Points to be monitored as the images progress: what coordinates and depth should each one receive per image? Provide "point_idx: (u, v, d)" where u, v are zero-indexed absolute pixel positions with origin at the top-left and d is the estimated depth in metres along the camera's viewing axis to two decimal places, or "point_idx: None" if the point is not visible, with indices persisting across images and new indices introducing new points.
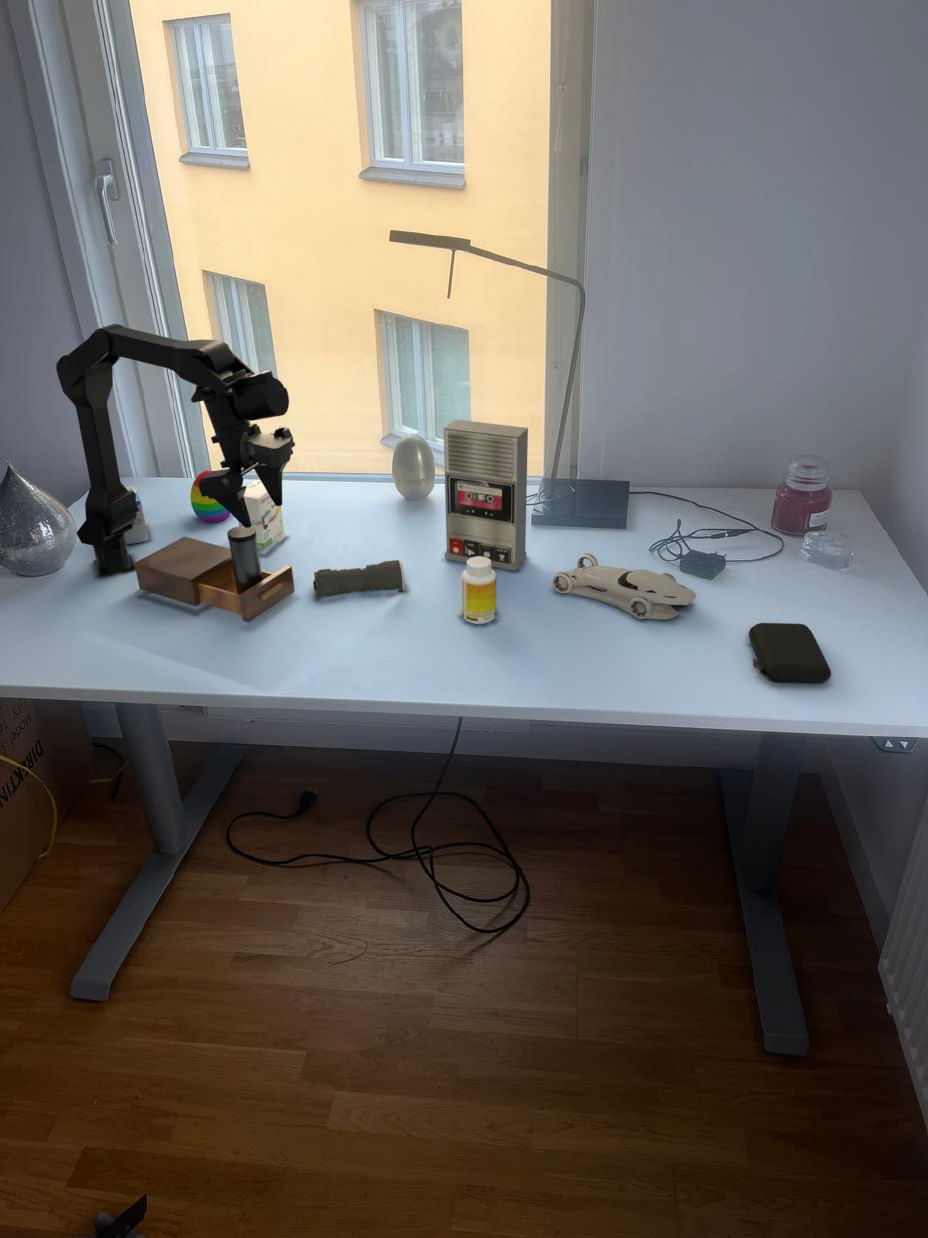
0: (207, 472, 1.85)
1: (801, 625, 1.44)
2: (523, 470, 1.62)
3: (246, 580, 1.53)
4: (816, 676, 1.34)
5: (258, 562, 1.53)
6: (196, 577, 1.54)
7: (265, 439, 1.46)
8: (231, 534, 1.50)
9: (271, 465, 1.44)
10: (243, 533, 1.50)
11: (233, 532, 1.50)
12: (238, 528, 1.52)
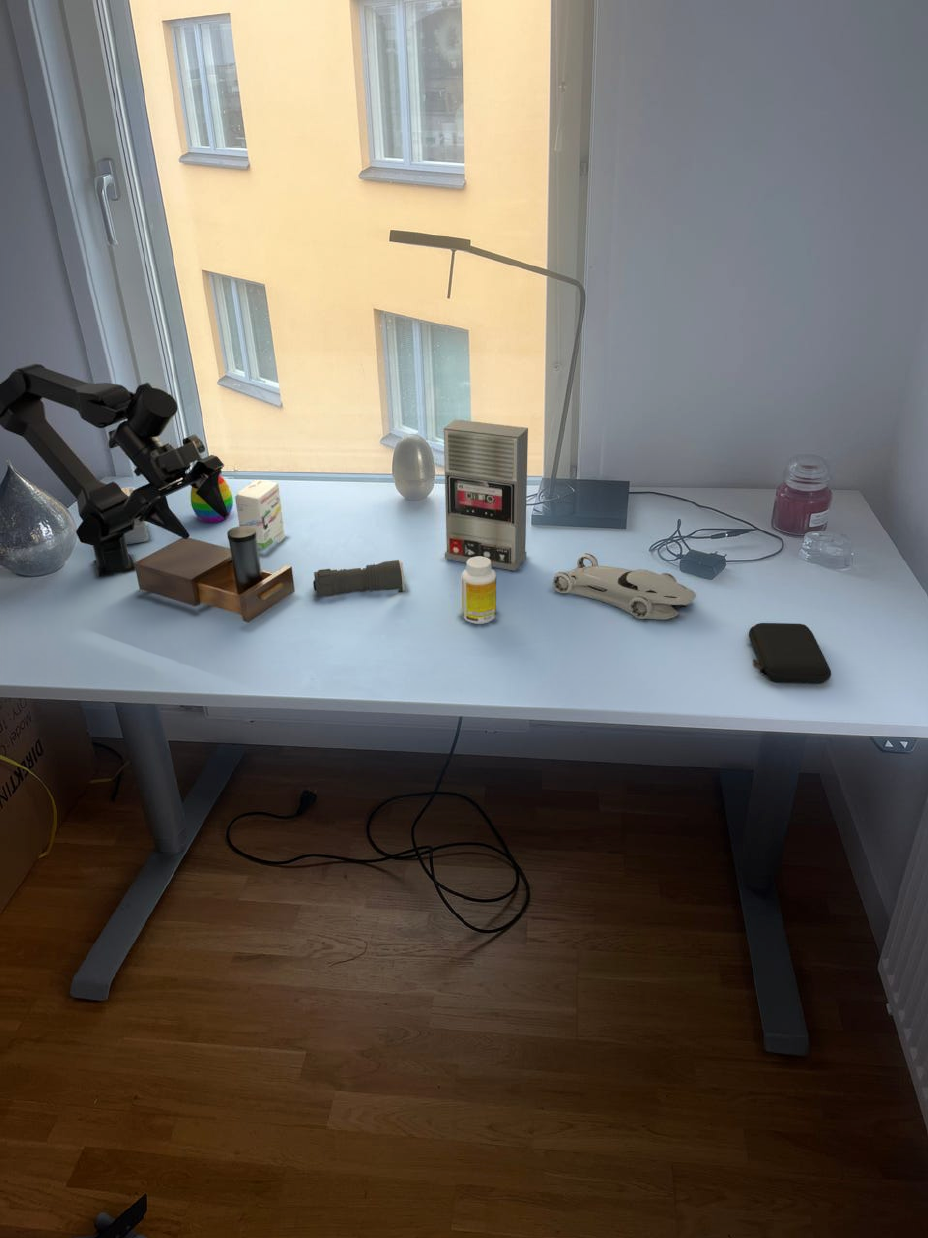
0: None
1: (801, 625, 1.44)
2: (523, 470, 1.62)
3: (246, 580, 1.53)
4: (816, 676, 1.34)
5: (258, 562, 1.53)
6: (196, 577, 1.54)
7: None
8: (231, 534, 1.50)
9: (179, 467, 1.48)
10: (243, 533, 1.50)
11: (233, 532, 1.50)
12: (238, 528, 1.52)
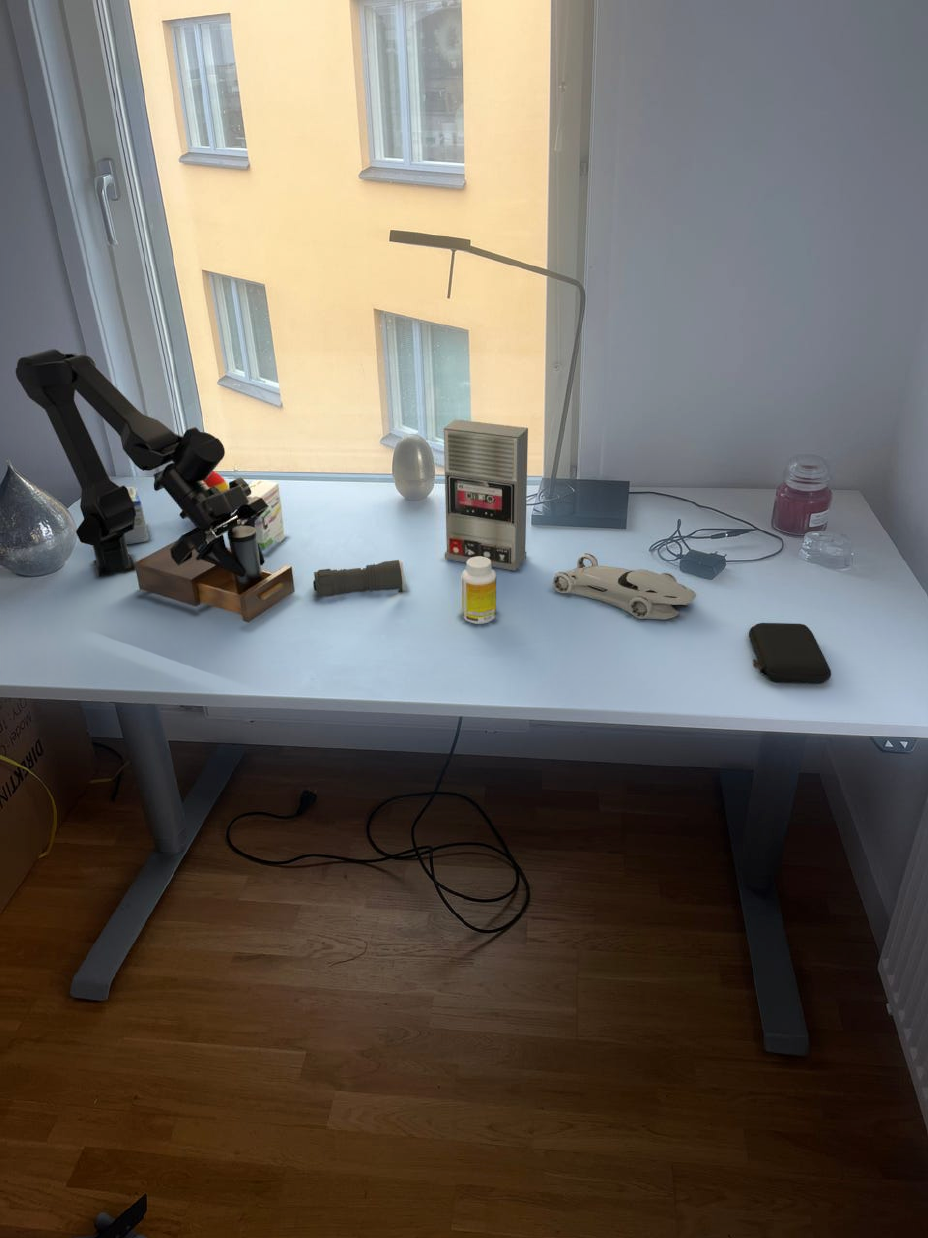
0: None
1: (801, 625, 1.44)
2: (523, 470, 1.62)
3: (246, 580, 1.53)
4: (816, 676, 1.34)
5: (258, 562, 1.53)
6: (196, 577, 1.54)
7: (219, 493, 1.50)
8: (231, 534, 1.50)
9: (227, 511, 1.47)
10: (243, 533, 1.50)
11: (233, 532, 1.51)
12: (238, 528, 1.52)
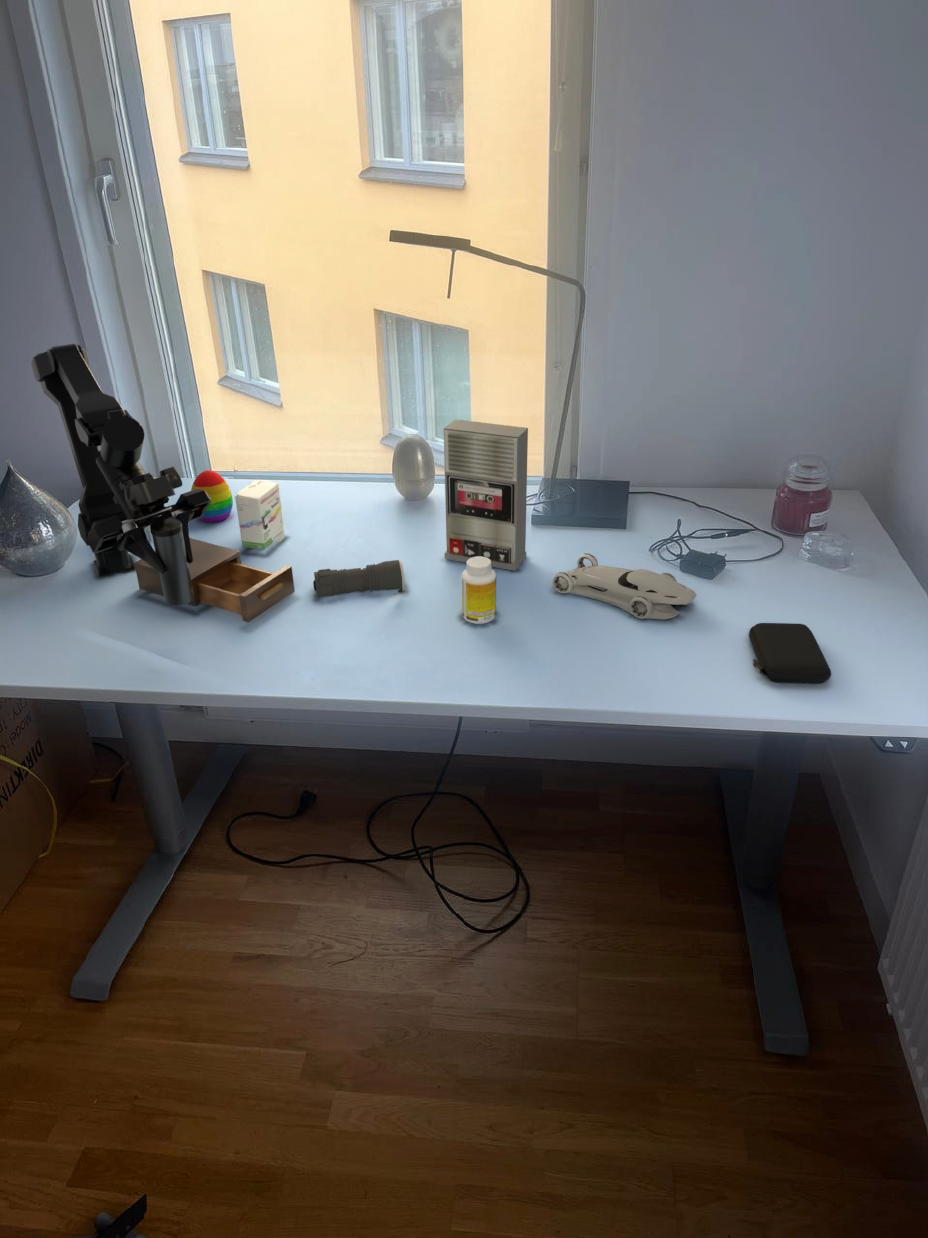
0: (207, 472, 1.85)
1: (801, 625, 1.44)
2: (523, 470, 1.62)
3: (167, 577, 1.41)
4: (816, 676, 1.34)
5: (182, 560, 1.41)
6: (196, 577, 1.54)
7: None
8: (153, 526, 1.39)
9: (145, 502, 1.36)
10: (165, 527, 1.39)
11: (156, 525, 1.39)
12: (165, 520, 1.41)
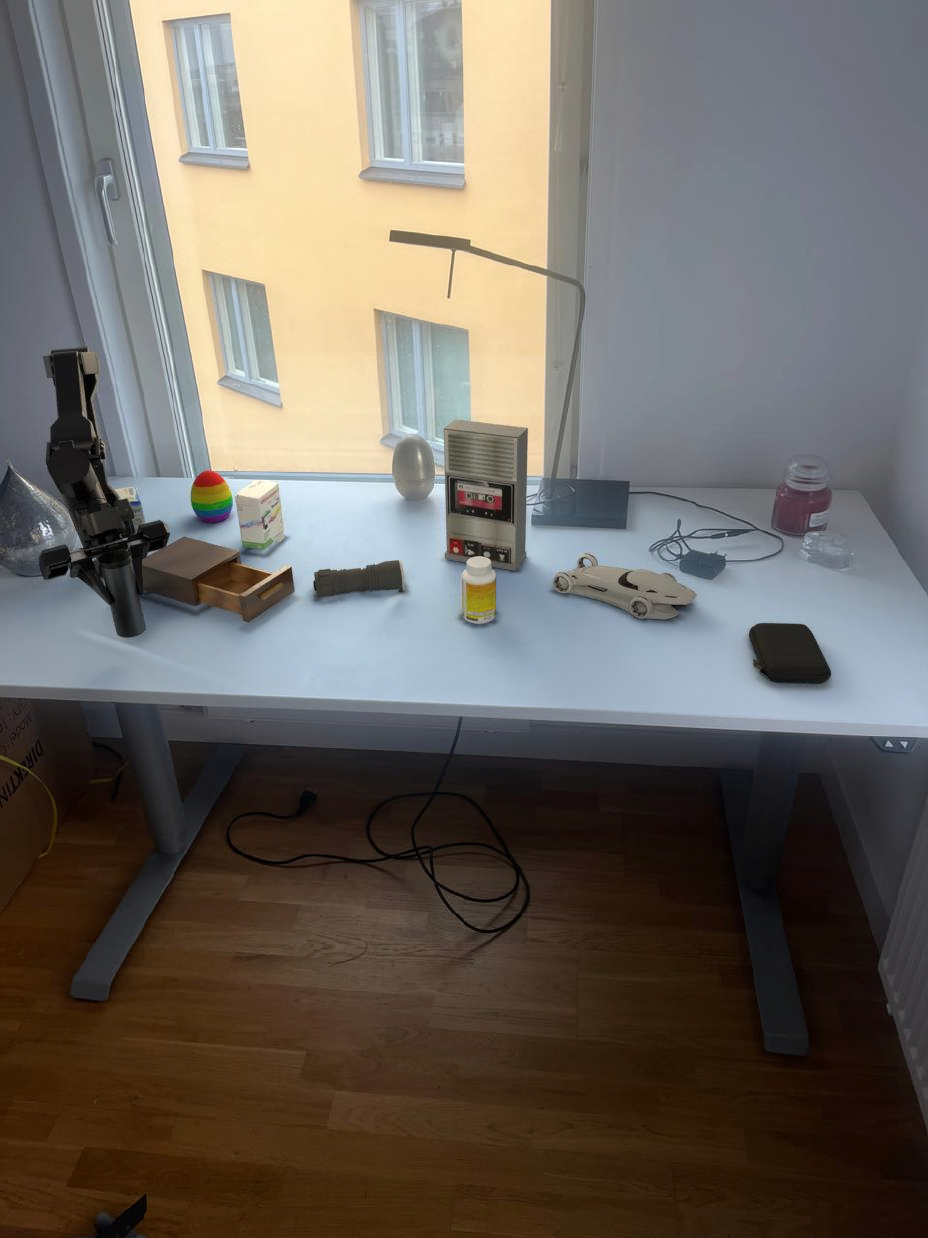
0: (207, 472, 1.85)
1: (801, 625, 1.44)
2: (523, 470, 1.62)
3: (115, 609, 1.40)
4: (816, 676, 1.34)
5: (130, 593, 1.39)
6: (196, 577, 1.54)
7: None
8: (102, 558, 1.37)
9: (91, 534, 1.34)
10: (113, 559, 1.37)
11: (106, 556, 1.38)
12: (116, 552, 1.39)
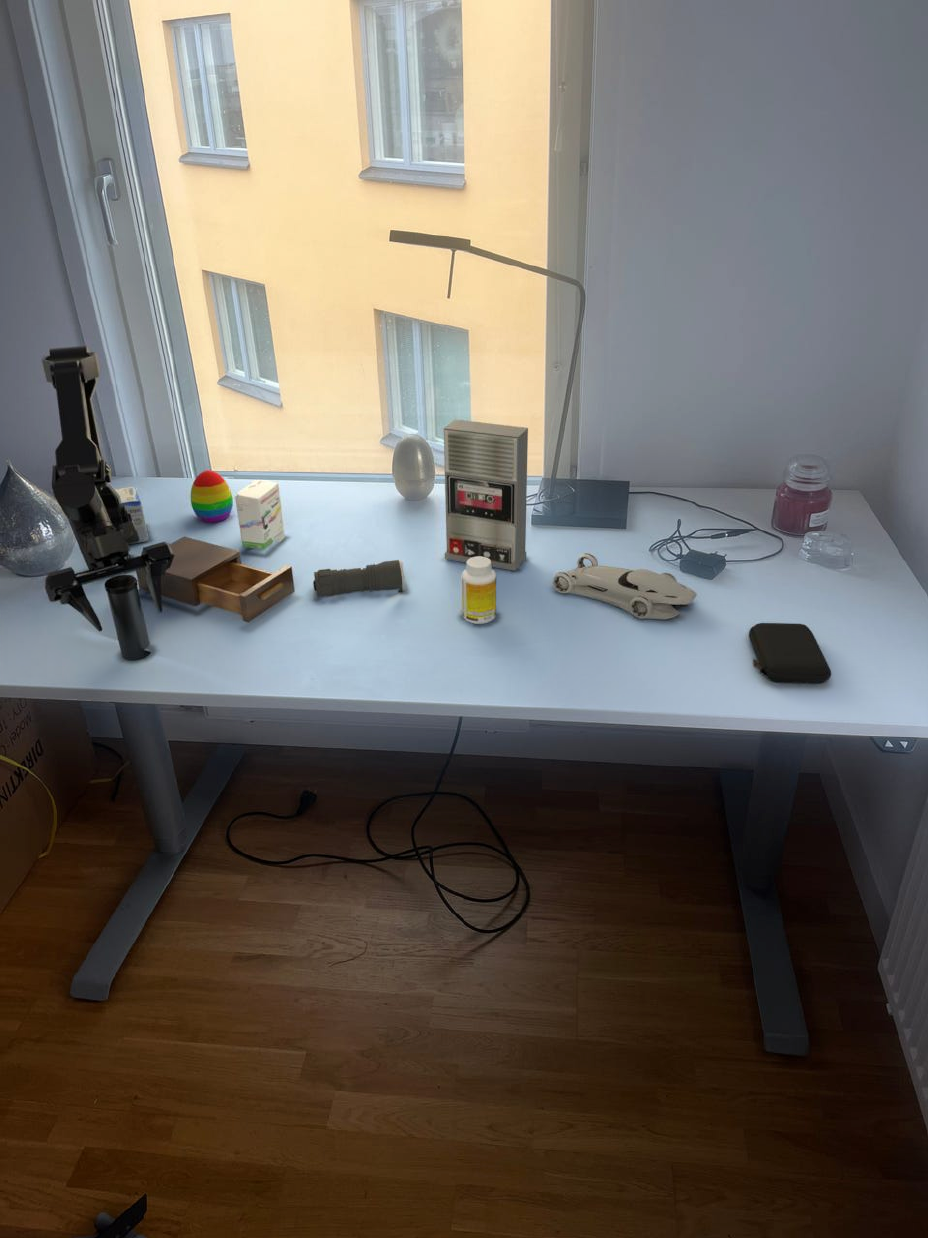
0: (207, 472, 1.85)
1: (801, 625, 1.44)
2: (523, 470, 1.62)
3: (121, 633, 1.42)
4: (816, 676, 1.34)
5: (136, 617, 1.41)
6: (196, 577, 1.54)
7: None
8: (107, 583, 1.39)
9: (96, 557, 1.36)
10: (119, 584, 1.39)
11: (112, 581, 1.40)
12: (121, 577, 1.41)
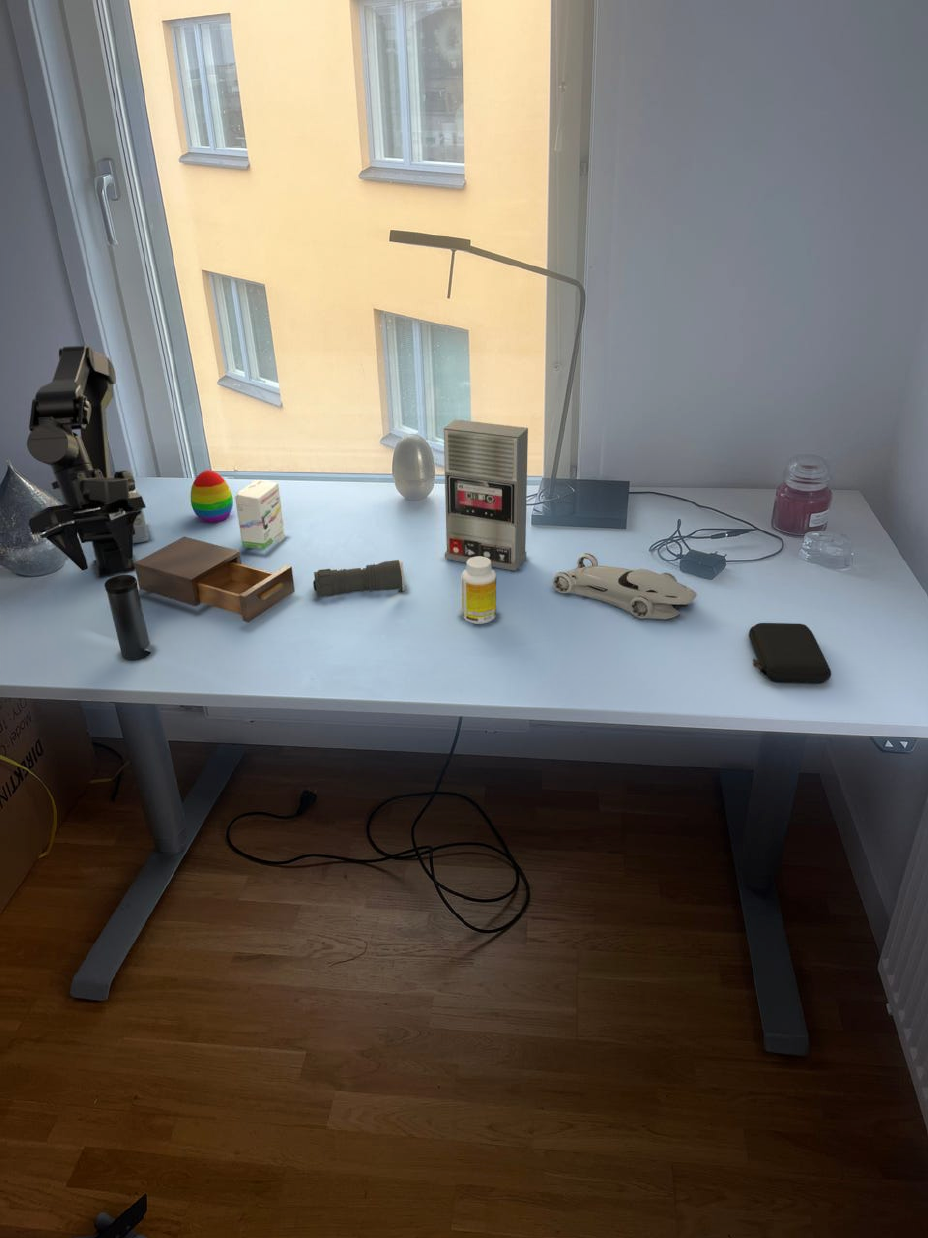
0: (207, 472, 1.85)
1: (801, 625, 1.44)
2: (523, 470, 1.62)
3: (121, 633, 1.42)
4: (816, 676, 1.34)
5: (136, 617, 1.41)
6: (196, 577, 1.54)
7: (102, 479, 1.44)
8: (107, 583, 1.39)
9: (104, 500, 1.42)
10: (119, 584, 1.39)
11: (112, 581, 1.40)
12: (121, 577, 1.41)
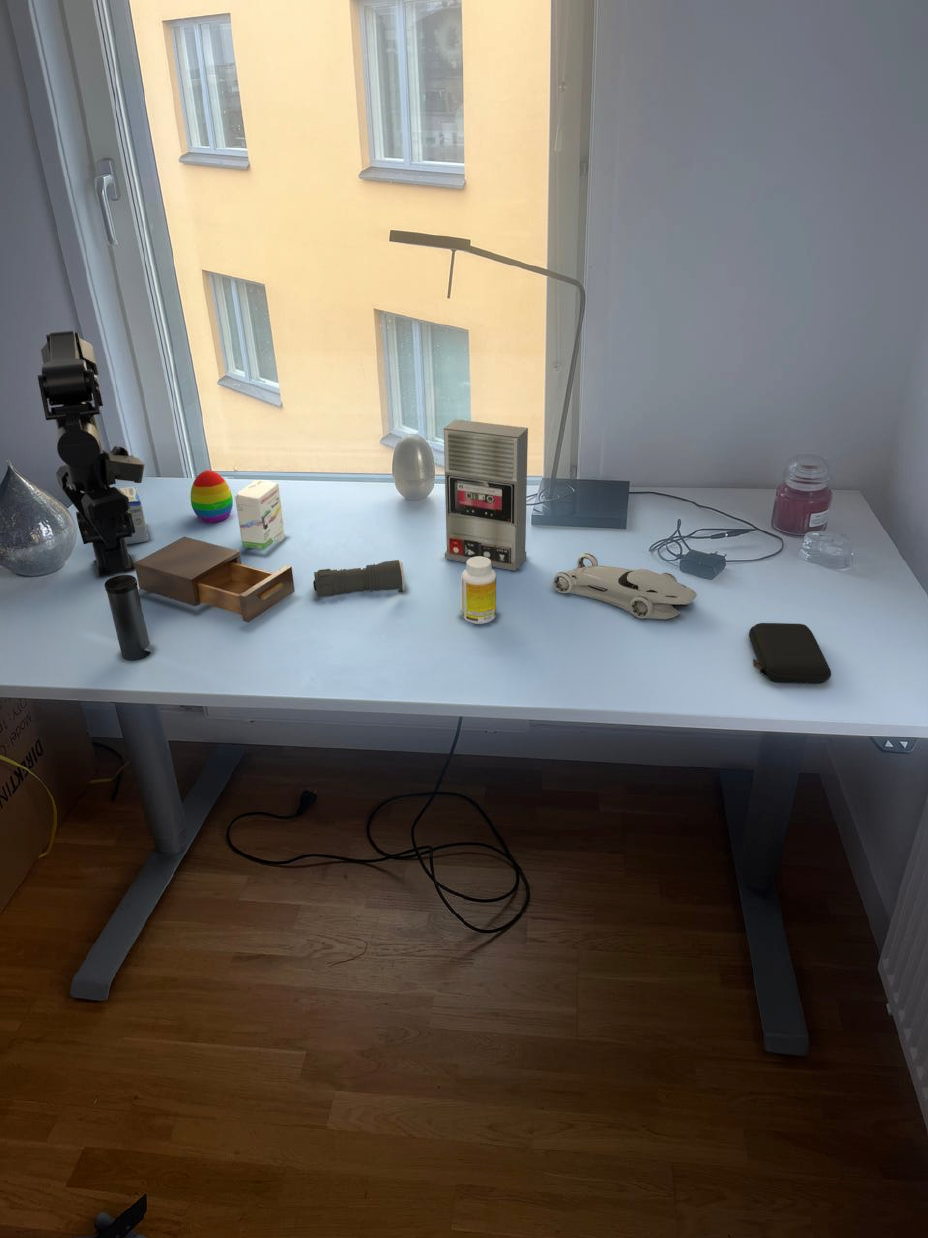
0: (207, 472, 1.85)
1: (801, 625, 1.44)
2: (523, 470, 1.62)
3: (121, 633, 1.42)
4: (816, 676, 1.34)
5: (136, 617, 1.41)
6: (196, 577, 1.54)
7: (119, 458, 1.49)
8: (107, 583, 1.39)
9: (138, 481, 1.50)
10: (119, 584, 1.39)
11: (112, 581, 1.40)
12: (121, 577, 1.41)
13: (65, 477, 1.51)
